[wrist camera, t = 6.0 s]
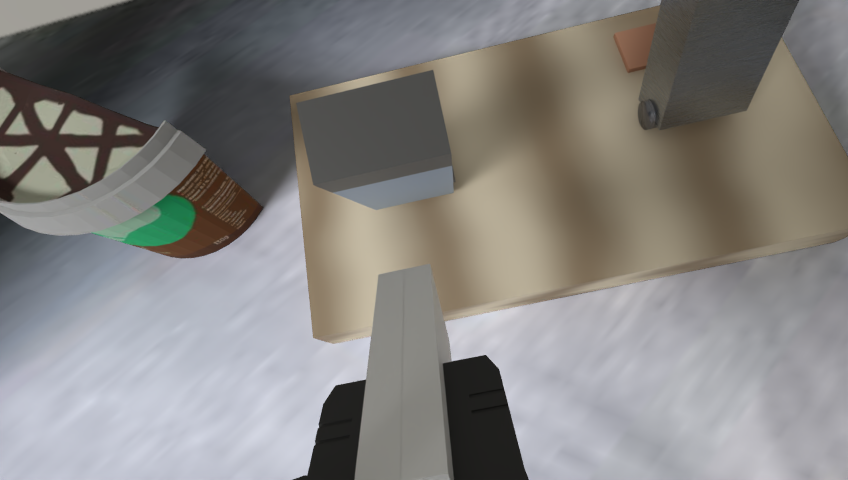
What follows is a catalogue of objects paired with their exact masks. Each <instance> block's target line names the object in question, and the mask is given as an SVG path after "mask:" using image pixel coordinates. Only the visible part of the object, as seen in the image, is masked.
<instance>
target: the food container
mask: <svg viewBox="0 0 848 480" xmlns="http://www.w3.org/2000/svg"><path fill="white" fill-rule="evenodd" d="M205 151H206V149H205V148H203V147H202V146H201V145H199V144H198V143H197V142H195V141H194V140H193V139H191V138H190V137H188V136H187V135H186V134H184V133H183V132H182V131H179V130H177V129H176V128H174V127H173V126H172V125H171V124H169V123H168V122H167V121H165V120H164V121H163V123H162V124H161V125H160V127H155V126H151V125H148V124H145V123H143V122H140V121H138V120H135V119H132V118H130V117H127V116H124V115H122V114H119V113H117V112H114V111H112V110H109V109H106V108H104V107H102V106H99V105H97V104H94V103H92V102H89V101H87V100H85V99H82V98H80V97H77V96H75V95H73V94H69V93H66V92H63V91H59V90H56V89H52V88H49V87H46V86H43V85H40V84H37V83H35V82H32V81H29V80H26V79H24V78H21V77H18V76H15V75H13V74H10V73H8V72H6V71H4V70H3V69H1V68H0V213H1V214H3V215H5V216H6V217H8V218H9V219H11V220H13V221H14V222H16V223H17V224H19V225H21V226H22V227H24V228H27V229H30V230H33V231H36V232H39V233H44V234H51V235H58V236H63V235H81V234H86V233H93V234H97V235H100V236H103V237H107V238H110V239H113V240H117V241H120V242H123V243H127V244H130V245H133V246H136V247H140V248H143V249H146V250H150V251H153V252H156V253H160V254H163V255H166V256H170V257H175V258H195V257H200V256H205V255H208V254H210V253H213V252H216V251H218V250H220V249H222V248H223V247H225V246H227V245H229V244H230V243H232V242H233V241H234V240H236V239H237V238H238V237H240V236H241V235H242V234H243V233H244V232H245V231H246V230H247V229H248V228H249V227H250V226H251V224H252V223H253V222H254V221H255V220H256V218H257V216H258V215H259V213H260V212H261V210H262V209H263V207H262V206H261V205H260V204H259V203H258V202H257V201H256V200H255V199H254V198H252V197H251V196H250V195H249V194H248V193H247V192H246V191H245V190H244V189H242V188H241V187H240V186H239V185H238V184H237V183H236V182H235V181H234V180H232V179H231V178H230V177H229V176H228V175H227V174H226V173H225V172H224V171H222V170H221V169H220V168H219V167H218V166H217V165H216V164H215V163H213V162H212V161H211V160H210V159H209V158H208V157H207V156H206V155H205V154H204V153H205Z"/></svg>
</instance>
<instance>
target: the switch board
mask: <svg viewBox="0 0 848 480" xmlns="http://www.w3.org/2000/svg"><path fill="white" fill-rule="evenodd" d="M659 9H660V5H659V6H655V7H651V8H647V9H643V10H639V11H635V12H631V13H627V14H623V15H618V16H614V17H610V18H606V19H602V20H598V21H594V22H590V23H586V24H582V25H577V26H573V27H569V28H565V29H561V30H557V31H553V32H549V33H545V34H540V35H536V36H532V37H528V38H524V39H520V40H516V41H512V42H508V43H504V44H499V45H495V46H491V47H487V48H483V49H479V50H475V51H471V52H467V53H463V54H458V55H454V56H450V57H446V58H442V59H438V60H434V61H430V62H426V63H421V64H417V65H413V66H409V67H405V68H401V69H397V70H393V71H389V72H385V73H380V74H376V75H372V76H368V77H364V78H360V79H356V80H352V81H348V82H344V83H339V84H335V85H331V86H327V87H323V88H319V89H315V90H311V91H307V92H302V93H298V94H294V95H290V105H291V116H292V126H293V136H294V146H295V156H296V167H297V177H298V187H299V197H300V207H301V218H302V228H303V238H304V248H305V259H306V269H307V279H308V289H309V299H310V310H311V320H312V330H313V338H315V339H319V340H322V341H326V342H329V343H332V344H335V343H340V342H345V341H350V340H355V339H360V338H364V337H369V336H371V334H372V326H373V317H374V309H375V300H376V292H377V283H378V275H379V274H383V273H388V272H393V271H397V270H402V269H407V268H412V267H417V266H421V265H426V264H430V265H431V270H432V274H433V278H434V282H435V286H436V290H437V294H438V298H439V302H440V306H441V310H442V314H443V318H444V321H448V320H453V319H458V318H463V317H468V316H473V315H478V314H483V313H488V312H493V311H498V310H503V309H507V308H512V307H517V306H522V305H527V304H532V303H537V302H542V301H547V300H552V299H557V298H562V297H567V296H572V295H577V294H581V293H586V292H591V291H596V290H601V289H606V288H611V287H616V286H621V285H626V284H631V283H636V282H641V281H646V280H651V279H655V278H660V277H665V276H670V275H675V274H680V273H685V272H690V271H695V270H700V269H705V268H710V267H715V266H720V265H724V264H729V263H734V262H739V261H744V260H749V259H754V258H759V257H764V256H769V255H774V254H779V253H784V252H789V251H794V250H798V249H803V248H808V247H813V246H818V245H823V244H828V243H833V242H836V241H839V240H841V239H843V238H846V237H848V156H847V154H846V153H845V151H844V149H843V147H842V145H841V144H840V142H839V140H838V138H837V136H836V135H835V133H834V131H833V129H832V127H831V126H830V124H829V122H828V120H827V118H826V117H825V115H824V113H823V111H822V109H821V108H820V106H819V104H818V102H817V100H816V99H815V97H814V95H813V93H812V91H811V89H810V88H809V86H808V84H807V82H806V80H805V79H804V77H803V75H802V73H801V71H800V70H799V68H798V66H797V64H796V62H795V61H794V59H793V57H792V55H791V53H790V52H789V50H788V48H787V46H786V44H785V43H784V41H783V39H782V37H781V39H780V41H779V44H778V46H777V48H776V50H775V52H774V54H773V56H772V58H771V60H770V62H769V65H768V67H767V69H766V71H765V73H764V75H763V77H762V79H761V81H760V84H759V86H758V88H757V90H756V92H755V94H754V96H753V98H752V100H751V103H750V105H749V107H748V109H747V111H744V112H739V113H735V114H730V115H726V116H721V117H717V118H713V119H708V120H704V121H699V122H695V123H690V124H686V125H681V126H677V127H673V128H668V129H664V130H659V129H658V128H653V129H648V130H644V129H643V128H642V127H641V125H640V123H639V119H638V106H639V104H640V101H639V100H638V99H639V94H640V90H641V86H642V82H643V77H644V73H645V69H646V65H647V60H648V56H649V52H650V47H651V43H652V39H653V35H654V30H655V26H656V22H657V17H658V13H659ZM430 70H433V71H434V76H435V80H436V85H437V89H438V94H439V99H440V103H441V108H442V112H443V117H444V122H445V126H446V131H447V136H448V140H449V145H450V149H451V155H452V166H453V171H454V175H455V181H456V182H454V183H453V188H454V193H450V194H446V195H441V196H437V197H432V198H428V199H423V200H419V201H414V202H410V203H405V204H401V205H396V206H392V207H387V208H383V209H378V210H374V209H372V208H369V207H367V206H364V205H362V204H359V203H357V202H354V201H352V200H349V199H347V198H344V197H342V196H339V195H337V194H334V193H332V192H329V191H327V190H324V189H322V188H319V187H317V186H314V185H313V181H312V177H311V172H310V167H309V162H308V158H307V153H306V148H305V143H304V139H303V134H302V129H301V124H300V120H299V115H298V110H297V105H296V103H298V102H302V101H306V100H310V99H314V98H318V97H323V96H327V95H331V94H335V93H339V92H343V91H347V90H351V89H356V88H360V87H364V86H368V85H372V84H376V83H380V82H385V81H389V80H393V79H397V78H401V77H405V76H409V75H413V74H418V73H422V72H426V71H430Z"/></svg>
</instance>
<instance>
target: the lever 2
mask: <svg viewBox="0 0 848 480" xmlns="http://www.w3.org/2000/svg"><path fill="white" fill-rule="evenodd" d="M798 1H799V0H661V5H660V9H659V13H658V17H657V22H656V26H655V30H654V35H653V39H652V43H651V47H650V52H649V56H648V60H647V65H646V69H645V73H644V77H643V82H642V86H641V90H640V94H639V99H638V100H639V101H640V104H639V106H638V119H639V123H640V125H641V127H642V128H643V129H644V130H648V129H653V128H658V129H659V130H664V129H668V128H673V127H677V126H681V125H686V124H690V123H695V122H699V121H704V120H708V119H713V118H717V117H721V116H726V115H730V114H735V113H739V112H744V111H747V109H748V107H749V105H750V103H751V100H752V98H753V96H754V94H755V92H756V90H757V88H758V86H759V84H760V81H761V79H762V77H763V75H764V73H765V71H766V69H767V67H768V65H769V62H770V60H771V58H772V56H773V54H774V52H775V50H776V48H777V46H778V44H779V41H780V39H781V37H782V35H783V33H784V31H785V29H786V27H787V25H788V22H789V20H790V18H791V16H792V14H793V12H794V10H795V8H796V6H797V3H798Z"/></svg>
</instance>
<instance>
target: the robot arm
mask: <svg viewBox="0 0 848 480" xmlns="http://www.w3.org/2000/svg"><path fill="white" fill-rule="evenodd" d="M315 443H316V445H315V446H314V449H313V453H312V458H311V462H310V467H309V471H308V476H302V477H299V478H296V479H293V480H529V479H528V477H527V474H526V472H525V469H524V465H523V461H522V457H521V453H520V449H519V445H518V442H517V438H516V434H515V430H514V426H513V422H512V418H511V414H510V410H509V407H508V402H507V399H506V395H505V391H504V387H503V383H502V379H501V375H500V371H499V369H498V368H497V367H496V365H495V364H494V363H493V362H492V361H491V360H490V359H489V358H488V357H487V356H486V355H483V356H478V357H473V358H468V359H463V360H458V361H452V360H451V352H450V344H449V338H448V334H447V330H446V326H445V322H444V318H443V314H442V310H441V306H440V302H439V298H438V294H437V290H436V286H435V282H434V278H433V274H432V270H431V265H430V264H426V265H421V266H417V267H412V268H407V269H402V270H397V271H393V272H388V273H383V274H379V275H378V283H377V292H376V300H375V309H374V317H373V326H372V334H371V343H370V351H369V360H368V368H367V377H366V380H362V381H357V382H351V383H346V384H341V385H336V386H335V387H334V389H333V390H332V392H331V393H330V395H329V396H328V398H327V399H326V401H325V403H324V404H323V408H322V412H321V417H320V421H319V428H318V430H317V435H316V440H315Z"/></svg>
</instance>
